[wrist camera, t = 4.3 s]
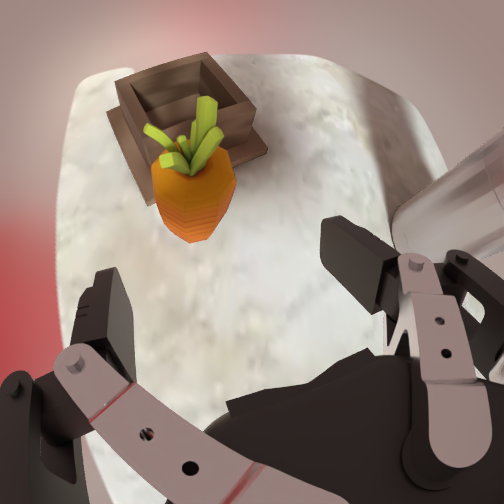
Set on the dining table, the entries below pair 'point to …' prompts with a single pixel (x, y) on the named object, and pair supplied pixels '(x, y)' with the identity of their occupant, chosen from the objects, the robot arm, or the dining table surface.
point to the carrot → (193, 176)
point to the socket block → (180, 113)
